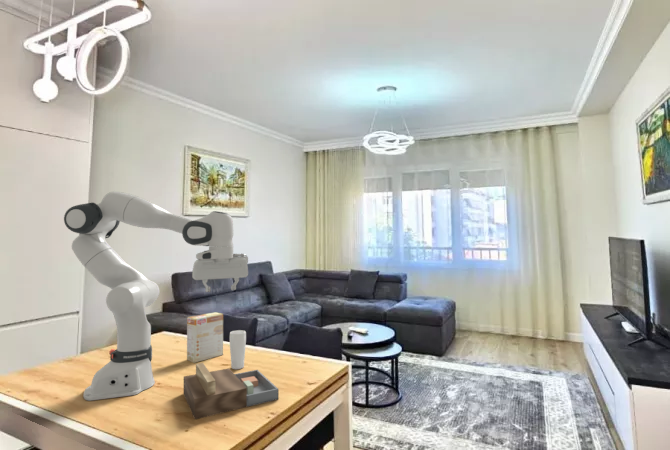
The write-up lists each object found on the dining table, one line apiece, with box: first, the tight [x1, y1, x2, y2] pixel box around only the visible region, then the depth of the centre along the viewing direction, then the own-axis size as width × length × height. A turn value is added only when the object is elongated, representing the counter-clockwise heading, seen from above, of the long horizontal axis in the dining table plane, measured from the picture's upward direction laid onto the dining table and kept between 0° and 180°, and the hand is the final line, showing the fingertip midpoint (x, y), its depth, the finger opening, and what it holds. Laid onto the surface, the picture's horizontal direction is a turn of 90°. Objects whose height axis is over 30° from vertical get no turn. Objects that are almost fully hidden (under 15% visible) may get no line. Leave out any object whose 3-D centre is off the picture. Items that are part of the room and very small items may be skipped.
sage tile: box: [243, 380, 253, 395], centre depth 125 cm, size 5×5×2 cm
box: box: [234, 369, 280, 408], centre depth 132 cm, size 11×22×4 cm, turn 30°
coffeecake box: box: [186, 311, 224, 364], centre depth 172 cm, size 15×7×20 cm, turn 141°
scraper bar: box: [195, 362, 215, 395], centre depth 124 cm, size 2×20×4 cm, turn 31°
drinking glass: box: [229, 329, 247, 370], centre depth 157 cm, size 7×7×15 cm
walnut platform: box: [183, 368, 248, 420], centre depth 125 cm, size 16×22×6 cm
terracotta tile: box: [241, 376, 258, 387], centre depth 136 cm, size 5×5×2 cm
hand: (220, 290), depth 139 cm, fingers open, 8 cm apart
